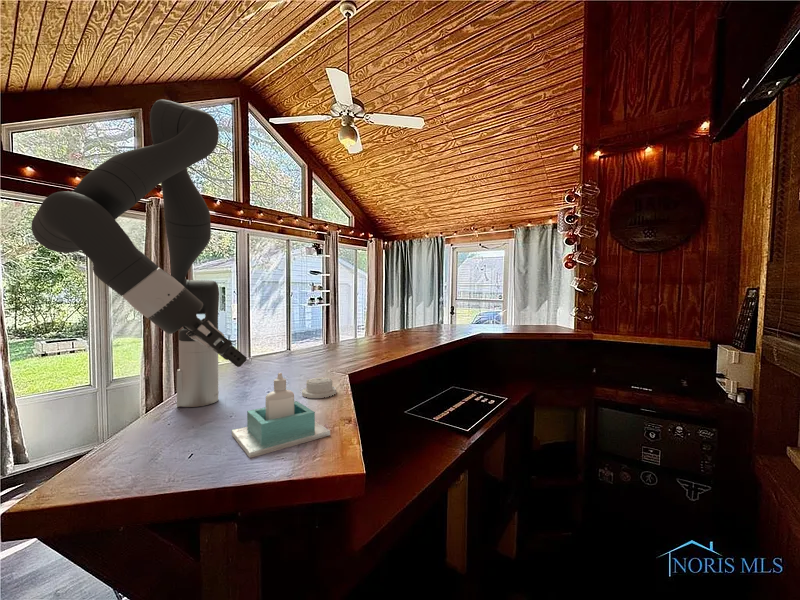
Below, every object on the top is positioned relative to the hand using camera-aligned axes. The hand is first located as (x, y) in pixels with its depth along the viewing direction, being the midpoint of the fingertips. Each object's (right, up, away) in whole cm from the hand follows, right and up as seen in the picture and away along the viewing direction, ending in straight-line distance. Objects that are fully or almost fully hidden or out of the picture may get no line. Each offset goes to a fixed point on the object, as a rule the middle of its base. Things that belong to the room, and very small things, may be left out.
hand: (236, 359), depth 66 cm
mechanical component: (+8, -17, +36) cm, 40 cm away
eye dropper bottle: (+6, -16, +6) cm, 18 cm away
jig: (+7, -17, +6) cm, 19 cm away
